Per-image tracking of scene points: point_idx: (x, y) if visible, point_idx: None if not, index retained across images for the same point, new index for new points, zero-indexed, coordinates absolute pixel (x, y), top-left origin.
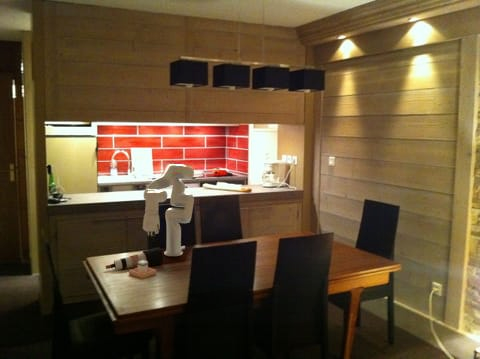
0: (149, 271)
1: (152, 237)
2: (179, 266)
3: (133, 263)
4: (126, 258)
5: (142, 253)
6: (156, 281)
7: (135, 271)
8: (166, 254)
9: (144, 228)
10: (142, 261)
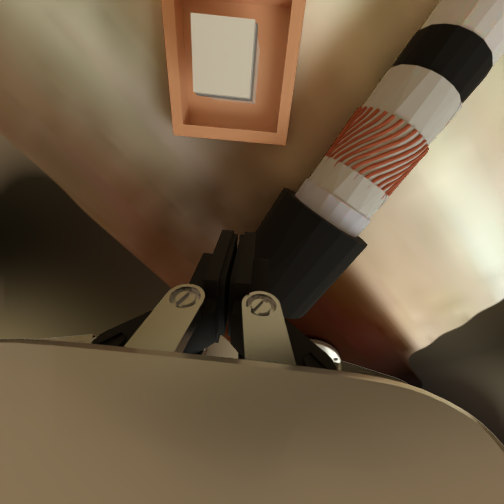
0: (174, 73)
1: (191, 283)
2: (187, 274)
3: (353, 115)
4: (430, 85)
5: (344, 215)
6: (72, 12)
7: (285, 54)
8: (315, 342)
9: (411, 442)
10: (226, 58)
